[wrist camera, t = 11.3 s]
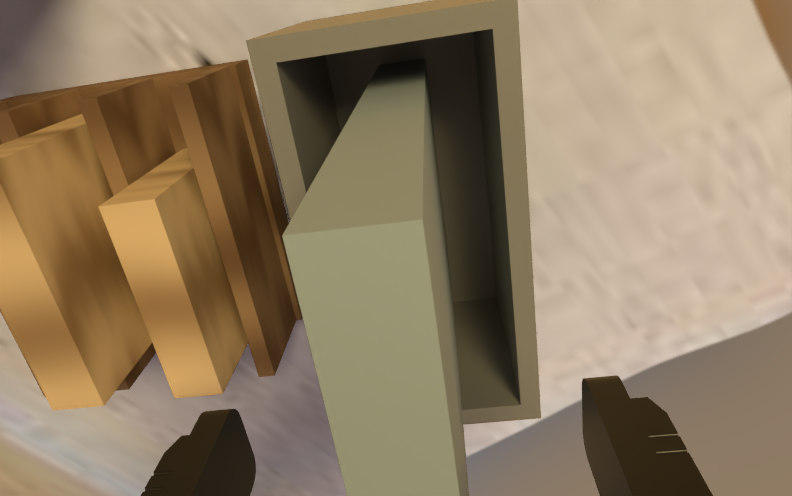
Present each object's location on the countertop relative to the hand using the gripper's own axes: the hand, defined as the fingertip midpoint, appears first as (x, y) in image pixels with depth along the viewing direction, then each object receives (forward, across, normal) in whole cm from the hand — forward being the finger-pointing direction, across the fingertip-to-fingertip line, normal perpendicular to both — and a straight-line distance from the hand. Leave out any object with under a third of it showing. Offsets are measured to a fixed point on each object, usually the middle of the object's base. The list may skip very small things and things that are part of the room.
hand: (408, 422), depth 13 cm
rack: (+19, +14, 0) cm, 23 cm away
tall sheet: (+18, 0, 0) cm, 18 cm away
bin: (+19, 0, 0) cm, 19 cm away
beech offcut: (+17, +10, +1) cm, 20 cm away
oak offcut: (+17, +14, -1) cm, 22 cm away
